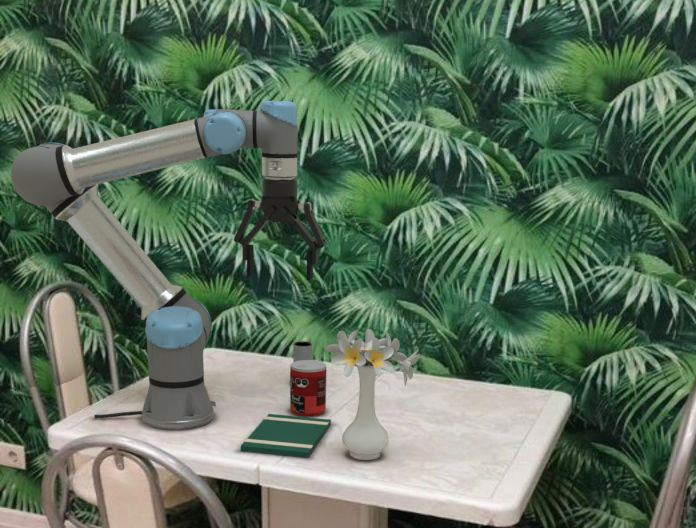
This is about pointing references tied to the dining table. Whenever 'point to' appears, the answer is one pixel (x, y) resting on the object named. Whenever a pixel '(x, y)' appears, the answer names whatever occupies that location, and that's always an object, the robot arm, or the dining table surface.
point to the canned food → (307, 388)
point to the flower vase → (368, 387)
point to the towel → (286, 435)
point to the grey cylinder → (302, 351)
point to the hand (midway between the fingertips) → (279, 277)
